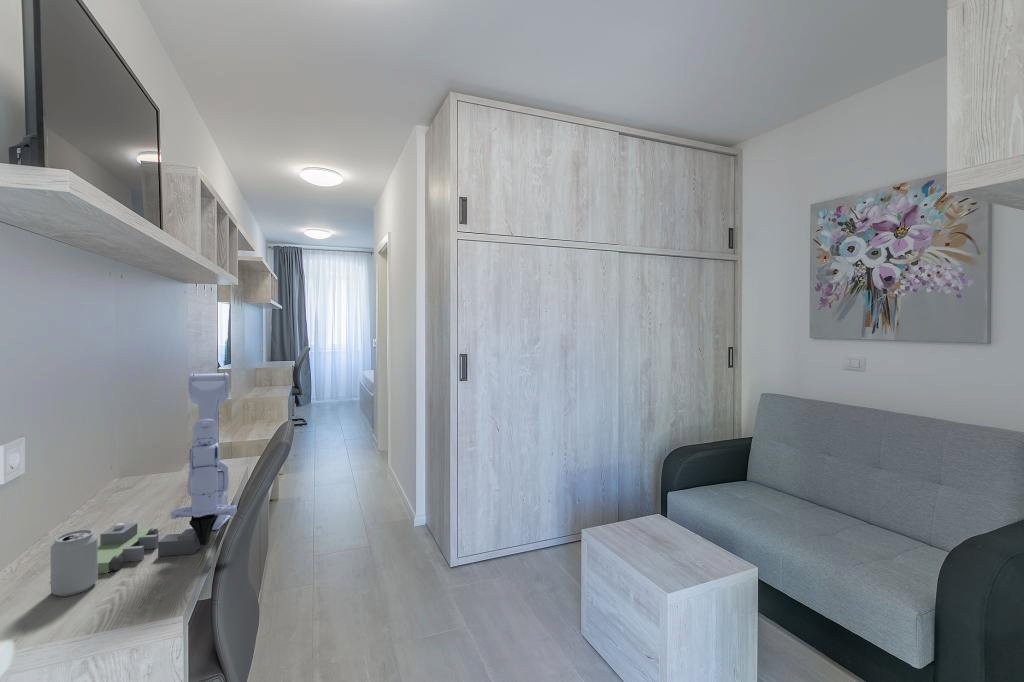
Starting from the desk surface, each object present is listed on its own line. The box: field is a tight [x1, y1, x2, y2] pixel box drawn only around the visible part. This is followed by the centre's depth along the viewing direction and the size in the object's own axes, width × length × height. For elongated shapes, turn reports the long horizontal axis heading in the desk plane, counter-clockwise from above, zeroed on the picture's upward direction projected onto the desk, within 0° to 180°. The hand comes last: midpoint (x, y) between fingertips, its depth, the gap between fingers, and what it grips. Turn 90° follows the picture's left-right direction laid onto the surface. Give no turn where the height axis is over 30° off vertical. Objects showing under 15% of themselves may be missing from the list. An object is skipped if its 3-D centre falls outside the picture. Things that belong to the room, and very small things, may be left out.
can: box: [50, 528, 99, 597], centre depth 102 cm, size 8×8×12 cm
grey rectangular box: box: [157, 528, 203, 557], centre depth 119 cm, size 4×8×5 cm, turn 101°
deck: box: [98, 522, 159, 574], centre depth 116 cm, size 18×14×6 cm
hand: (204, 543), depth 120 cm, fingers closed
